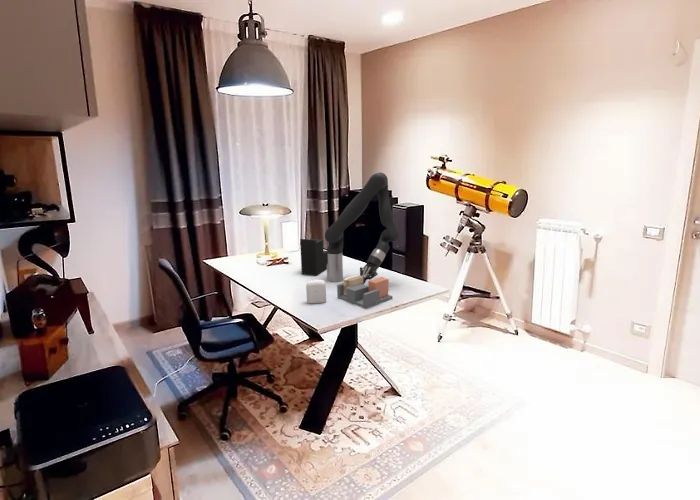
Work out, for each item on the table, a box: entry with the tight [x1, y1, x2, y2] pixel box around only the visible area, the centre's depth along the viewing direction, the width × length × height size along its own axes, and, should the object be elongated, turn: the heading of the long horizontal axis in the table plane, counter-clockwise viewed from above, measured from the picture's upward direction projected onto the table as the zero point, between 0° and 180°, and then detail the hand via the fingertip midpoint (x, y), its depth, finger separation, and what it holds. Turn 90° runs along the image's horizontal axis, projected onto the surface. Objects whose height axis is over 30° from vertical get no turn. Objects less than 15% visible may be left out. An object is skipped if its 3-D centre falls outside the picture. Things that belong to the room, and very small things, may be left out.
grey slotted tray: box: [336, 282, 393, 310], centre depth 229 cm, size 22×20×8 cm
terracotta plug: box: [368, 276, 389, 298], centre depth 227 cm, size 5×10×9 cm, turn 133°
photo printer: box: [305, 279, 327, 304], centre depth 225 cm, size 10×4×12 cm, turn 96°
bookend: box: [299, 238, 328, 277], centre depth 279 cm, size 23×11×24 cm, turn 158°
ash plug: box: [342, 274, 364, 296], centre depth 231 cm, size 5×10×9 cm, turn 133°
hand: (360, 284), depth 235 cm, fingers closed
